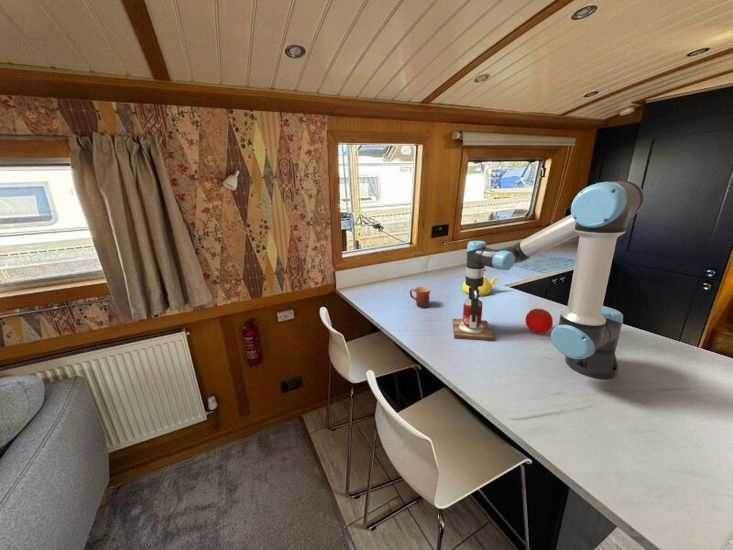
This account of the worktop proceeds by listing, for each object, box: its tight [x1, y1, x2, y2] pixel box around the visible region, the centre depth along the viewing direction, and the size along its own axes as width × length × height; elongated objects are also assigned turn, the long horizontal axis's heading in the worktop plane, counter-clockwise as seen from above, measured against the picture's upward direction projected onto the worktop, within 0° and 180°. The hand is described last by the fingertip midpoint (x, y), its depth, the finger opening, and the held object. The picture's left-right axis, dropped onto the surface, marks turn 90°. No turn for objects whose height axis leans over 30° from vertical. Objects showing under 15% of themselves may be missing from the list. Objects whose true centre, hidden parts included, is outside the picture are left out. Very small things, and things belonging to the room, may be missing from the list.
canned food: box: [462, 298, 483, 327], centre depth 130 cm, size 8×8×11 cm
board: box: [452, 318, 494, 342], centre depth 133 cm, size 16×16×2 cm
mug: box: [409, 286, 432, 309], centre depth 162 cm, size 12×9×10 cm
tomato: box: [525, 307, 554, 334], centre depth 128 cm, size 10×11×11 cm
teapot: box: [461, 275, 498, 297], centre depth 178 cm, size 20×19×13 cm
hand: (471, 323), depth 132 cm, fingers closed on canned food, 8 cm apart
